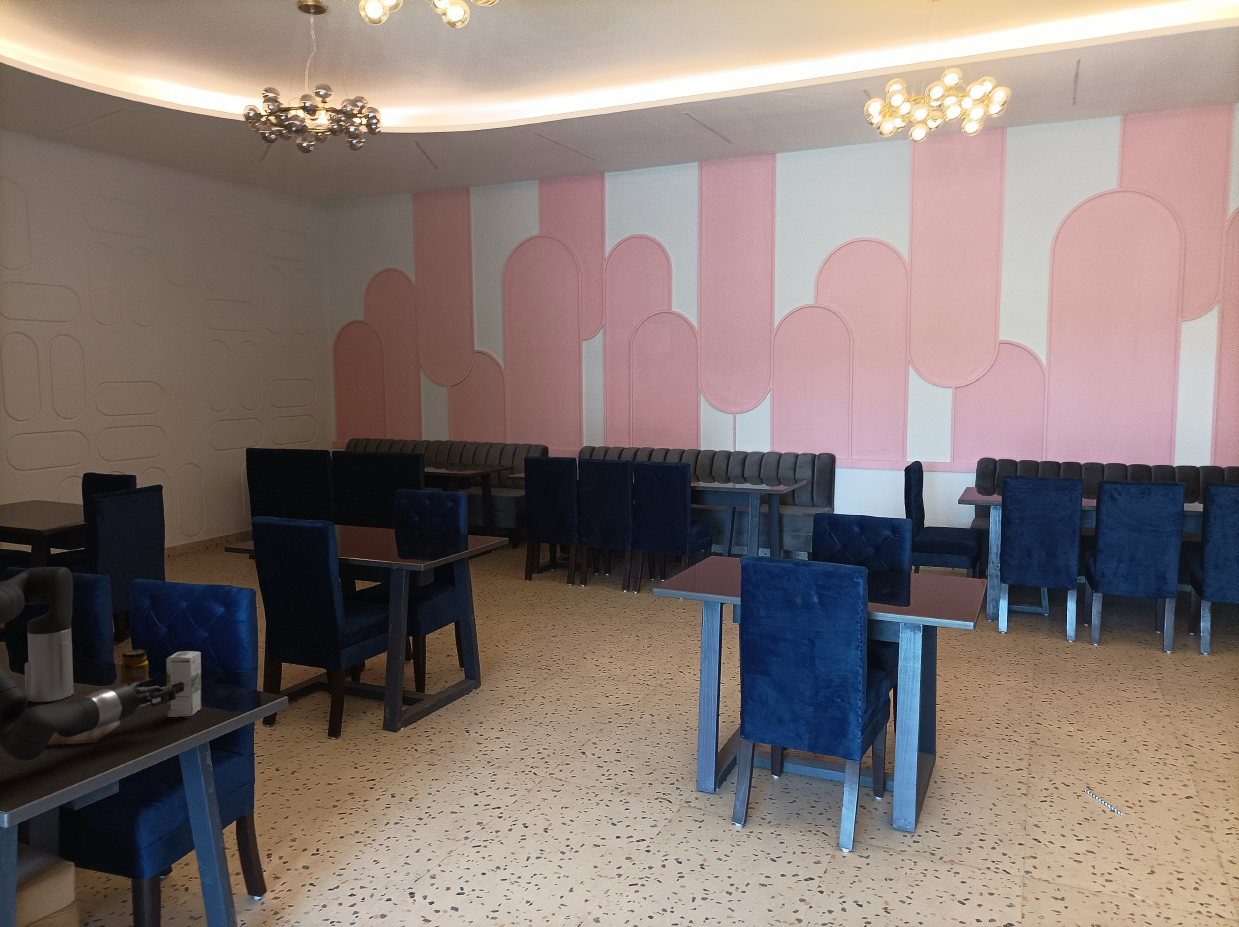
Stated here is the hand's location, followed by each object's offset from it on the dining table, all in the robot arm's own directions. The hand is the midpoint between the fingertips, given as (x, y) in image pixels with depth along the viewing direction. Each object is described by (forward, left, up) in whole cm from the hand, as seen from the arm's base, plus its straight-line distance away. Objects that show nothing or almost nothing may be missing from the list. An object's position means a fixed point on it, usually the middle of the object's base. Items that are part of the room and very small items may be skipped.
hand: (168, 684), depth 197 cm
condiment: (-15, +17, -9) cm, 25 cm away
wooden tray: (-16, -7, -9) cm, 20 cm away
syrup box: (+2, +4, -9) cm, 10 cm away
